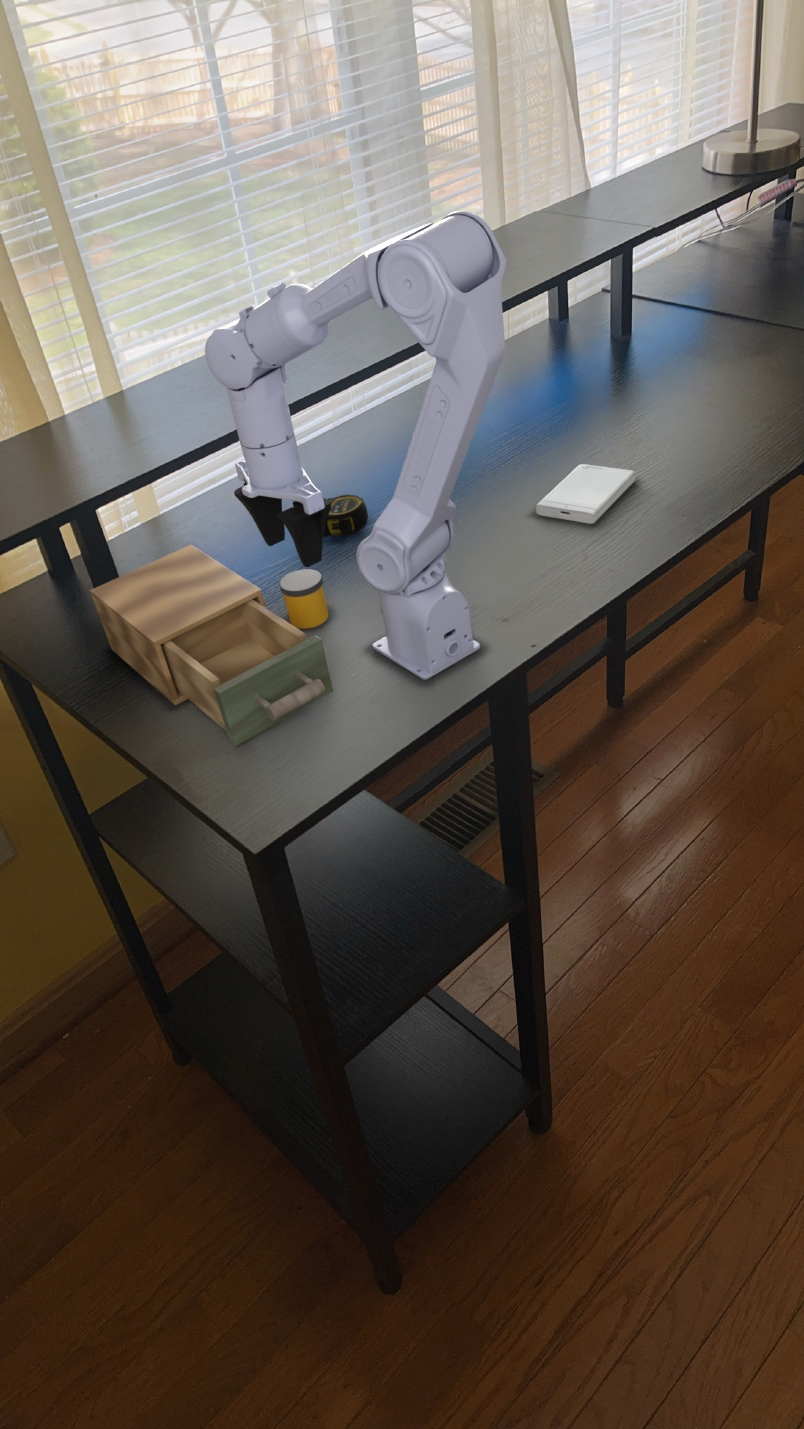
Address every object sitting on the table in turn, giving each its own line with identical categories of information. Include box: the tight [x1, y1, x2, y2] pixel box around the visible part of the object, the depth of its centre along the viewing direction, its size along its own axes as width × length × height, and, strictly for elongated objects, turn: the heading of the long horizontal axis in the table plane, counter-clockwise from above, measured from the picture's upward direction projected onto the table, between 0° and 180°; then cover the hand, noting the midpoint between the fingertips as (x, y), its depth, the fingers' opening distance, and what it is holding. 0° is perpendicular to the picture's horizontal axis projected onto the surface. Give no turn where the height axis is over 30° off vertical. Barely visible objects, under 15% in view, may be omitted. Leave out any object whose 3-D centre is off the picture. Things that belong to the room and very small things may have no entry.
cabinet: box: [89, 544, 267, 706], centre depth 116 cm, size 16×13×8 cm
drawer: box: [160, 599, 334, 747], centre depth 106 cm, size 20×12×7 cm, turn 39°
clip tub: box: [279, 568, 329, 630], centre depth 119 cm, size 5×5×5 cm
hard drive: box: [535, 463, 636, 525], centre depth 134 cm, size 2×8×12 cm
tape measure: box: [323, 494, 369, 538], centre depth 136 cm, size 7×7×4 cm
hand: (294, 552), depth 116 cm, fingers open, 7 cm apart
